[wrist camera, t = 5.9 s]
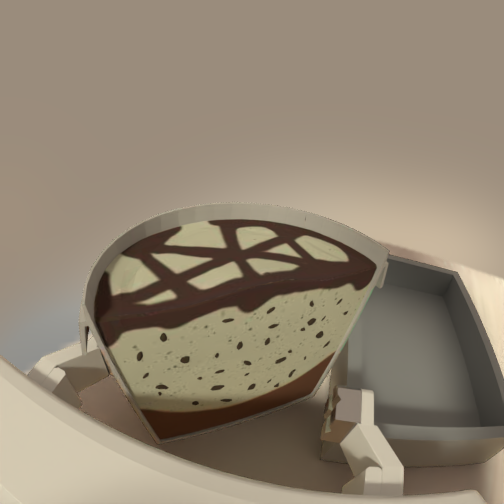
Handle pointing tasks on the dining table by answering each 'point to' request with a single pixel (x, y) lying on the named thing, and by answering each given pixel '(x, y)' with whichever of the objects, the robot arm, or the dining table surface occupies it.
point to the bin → (425, 369)
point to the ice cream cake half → (226, 311)
